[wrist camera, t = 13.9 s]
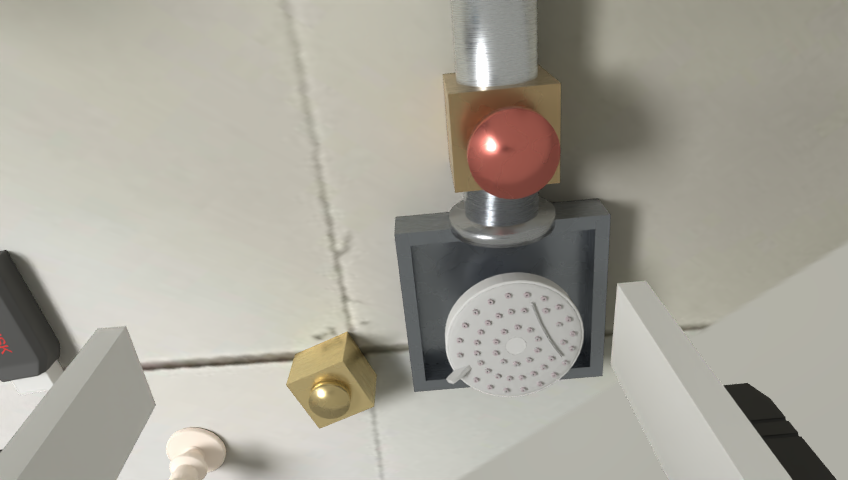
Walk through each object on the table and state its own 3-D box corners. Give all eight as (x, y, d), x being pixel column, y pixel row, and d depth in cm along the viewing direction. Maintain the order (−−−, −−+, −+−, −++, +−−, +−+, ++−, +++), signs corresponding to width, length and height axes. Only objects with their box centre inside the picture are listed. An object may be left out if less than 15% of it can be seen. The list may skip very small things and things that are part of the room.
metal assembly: (414, 363, 50) (414, 453, 41) (363, -53, 36) (346, -57, 27) (589, 348, 50) (629, 436, 40) (606, -78, 36) (672, -91, 27)
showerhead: (413, 334, 38) (553, 263, 36) (410, 280, 44) (529, 219, 43) (479, 430, 41) (609, 370, 40) (468, 367, 48) (579, 314, 46)
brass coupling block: (325, 395, 51) (318, 435, 46) (295, 353, 49) (284, 392, 44) (376, 374, 50) (373, 413, 45) (347, 330, 48) (341, 367, 43)
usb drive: (9, 247, 44) (-14, 264, 42) (80, 371, 49) (62, 393, 47) (-54, 259, 45) (-81, 277, 42) (22, 381, 50) (2, 403, 47)
